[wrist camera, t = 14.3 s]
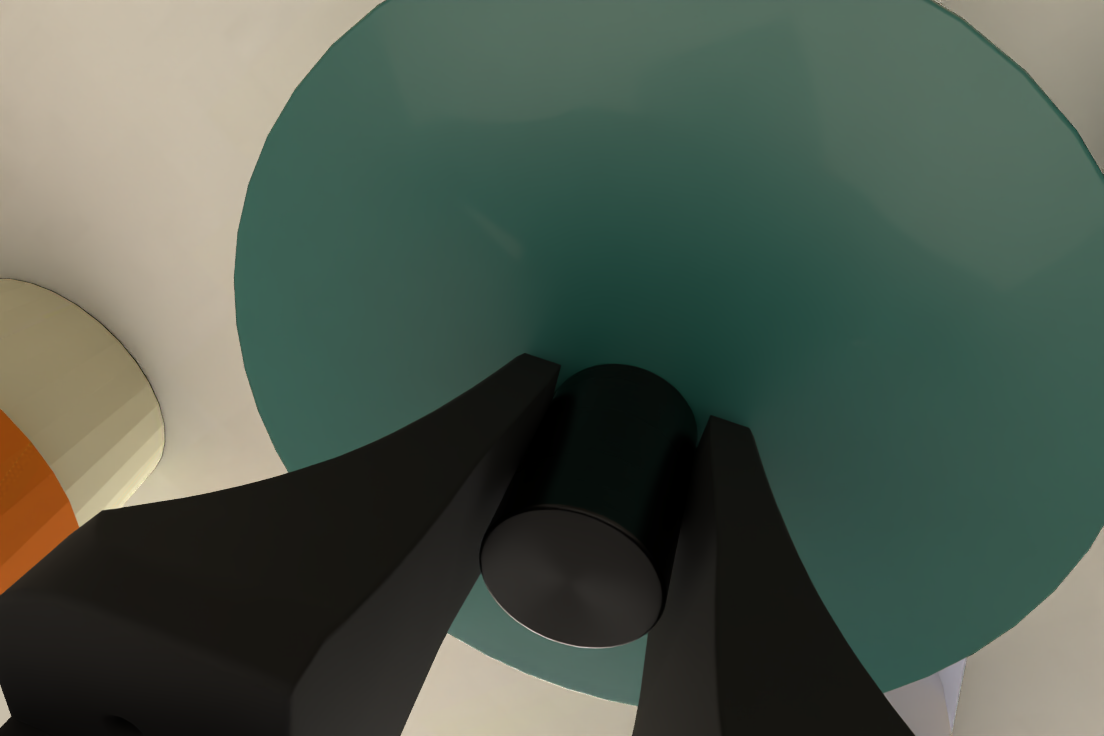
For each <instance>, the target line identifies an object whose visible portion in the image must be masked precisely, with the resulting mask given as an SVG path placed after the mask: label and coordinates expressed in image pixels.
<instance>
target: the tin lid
mask: <svg viewBox="0 0 1104 736" xmlns="http://www.w3.org/2000/svg"><path fill="white" fill-rule="evenodd" d="M234 290H235V307H236V324H237V330H238V335H239V341H240V346H241V351H242V356H243V362H244V367H245V371H246V374H247V377H248V380H249V384H250V387H251V390H252V393H253V396H254V399H255V403H256V406H257V409H258V412H259V414H260V416H261V418H262V421H263V423H264V425H265V427H266V430H267V432H268V434H269V436H270V439H271V441H272V443H273V445H274V448H275V450H276V452H277V453H278V455H279V457H280V459H281V460H282V462H283V464H284V466H285V467H286V469H287V471H288V472H292V471H296V470H299V469H302V468H305V467H308V466H311V465H314V464H317V463H320V462H323V461H326V460H329V459H332V458H335V457H338V456H341V455H343V454H346V453H348V452H350V451H353V450H355V449H358V448H360V447H362V446H365V445H367V444H369V443H372V442H374V441H376V440H378V439H380V438H383V437H385V436H387V435H389V434H391V433H393V432H395V431H397V430H399V429H401V428H403V427H405V426H407V425H408V424H410V423H412V422H414V421H416V420H418V419H420V418H422V417H423V416H425V415H427V414H429V413H431V412H433V411H435V410H436V409H438V408H440V407H441V406H443V405H445V404H446V403H448V402H450V401H451V400H453V399H455V398H456V397H458V396H459V395H461V394H463V393H464V392H466V391H467V390H469V389H471V388H472V387H474V386H475V385H477V384H478V383H480V382H481V381H483V380H484V379H486V378H487V377H489V376H490V375H492V374H493V373H495V372H496V371H497V370H499V369H500V368H502V367H503V366H504V365H506V364H507V363H509V362H510V361H511V360H513V359H514V358H515V357H517V356H519V355H521V354H523V353H527V354H530V355H533V356H536V357H539V358H542V359H545V360H548V361H551V362H554V363H557V364H560V365H561V368H560V372H559V376H558V380H557V384H556V387H555V391H554V395H553V399H552V402H551V404H550V406H549V408H548V410H547V412H546V414H545V416H544V418H543V420H542V422H541V424H540V426H539V428H538V430H537V432H536V434H535V436H534V438H533V440H532V442H531V443H530V445H529V447H528V449H527V451H526V453H525V455H524V457H523V459H522V461H521V463H520V465H519V467H518V469H517V471H516V473H515V475H514V477H513V478H512V480H511V482H510V484H509V486H508V488H507V490H506V492H505V494H504V496H503V498H502V500H501V502H500V504H499V506H498V508H497V510H496V512H495V514H494V516H493V518H492V520H491V522H490V524H489V526H488V528H487V530H486V532H485V534H484V536H483V539H482V541H481V545H480V550H479V564H480V571H481V574H480V575H479V577H478V579H477V581H476V582H475V584H474V586H473V588H472V589H471V591H470V593H469V595H468V596H467V598H466V600H465V602H464V603H463V605H462V607H461V609H460V610H459V612H458V614H457V616H456V617H455V619H454V621H453V622H452V624H451V626H450V628H449V630H448V632H447V633H448V634H450V635H451V636H453V637H455V638H457V639H458V640H460V641H462V642H464V643H465V644H467V645H469V646H471V647H473V648H474V649H476V650H478V651H480V652H481V653H483V654H485V655H487V656H489V657H491V658H493V659H495V660H498V661H500V662H502V663H504V664H506V665H508V666H510V667H513V668H515V669H517V670H519V671H521V672H523V673H526V674H528V675H531V676H534V677H536V678H539V679H542V680H544V681H547V682H550V683H552V684H555V685H558V686H561V687H563V688H566V689H569V690H573V691H576V692H580V693H583V694H587V695H591V696H594V697H598V698H601V699H605V700H608V701H613V702H618V703H623V704H628V705H633V706H638V703H639V697H640V691H641V683H642V675H643V668H644V660H645V652H646V645H647V637H648V632H649V631H650V630H651V629H652V628H653V627H654V626H655V625H656V624H657V622H658V621H659V619H660V618H661V616H662V614H663V612H664V609H665V606H666V601H667V596H668V591H669V585H670V580H671V575H672V570H673V564H674V559H675V554H676V549H677V544H678V538H679V533H680V528H681V523H682V518H683V512H684V507H685V502H686V497H687V491H688V486H689V481H690V476H691V471H692V465H693V460H694V455H695V451H696V449H697V446H698V444H699V442H700V439H701V437H702V434H703V432H704V429H705V427H706V425H707V422H708V420H709V417H710V415H713V416H716V417H719V418H722V419H725V420H728V421H730V422H733V423H736V424H739V425H742V426H745V427H748V428H750V430H751V432H752V434H753V436H754V439H755V442H756V445H757V449H758V452H759V455H760V458H761V461H762V464H763V467H764V470H765V473H766V476H767V479H768V482H769V484H770V487H771V490H772V493H773V495H774V498H775V500H776V503H777V506H778V508H779V510H780V513H781V515H782V518H783V520H784V522H785V525H786V527H787V530H788V532H789V535H790V537H791V539H792V541H793V543H794V546H795V548H796V550H797V552H798V554H799V557H800V559H801V561H802V563H803V565H804V567H805V569H806V571H807V573H808V575H809V577H810V579H811V581H812V583H813V585H814V587H815V588H816V590H817V592H818V594H819V596H820V598H821V600H822V601H823V603H824V605H825V607H826V608H827V610H828V612H829V613H830V615H831V616H832V618H833V620H834V621H835V623H836V625H837V626H838V628H839V630H840V631H841V633H842V635H843V636H844V638H845V639H846V641H847V643H848V644H849V646H850V647H851V649H852V650H853V652H854V653H855V655H856V656H857V658H858V659H859V661H860V662H861V664H862V665H863V666H864V668H865V669H866V670H867V672H868V673H869V675H870V676H871V677H872V679H873V680H874V682H875V683H876V684H877V686H878V687H879V688H880V690H881V691H882V693H886V692H889V691H892V690H894V689H897V688H900V687H902V686H905V685H908V684H910V683H913V682H916V681H918V680H921V679H924V678H926V677H929V676H931V675H933V674H935V673H937V672H939V671H941V670H943V669H945V668H947V667H949V666H951V665H953V664H955V663H957V662H959V661H961V660H963V659H964V658H966V657H968V656H970V655H972V654H974V653H976V652H977V651H978V650H980V649H981V648H983V647H984V646H986V645H987V644H989V643H990V642H992V641H993V640H995V639H996V638H998V637H999V636H1001V635H1002V634H1004V633H1005V632H1007V631H1008V630H1010V629H1011V628H1013V627H1014V626H1016V625H1017V624H1018V623H1019V622H1020V621H1021V620H1022V619H1023V618H1025V617H1026V616H1027V615H1028V614H1029V613H1030V612H1031V611H1032V610H1034V609H1035V608H1036V607H1037V606H1038V605H1039V604H1040V603H1041V602H1043V601H1044V600H1045V599H1046V598H1047V597H1048V596H1049V595H1050V594H1052V593H1053V592H1054V591H1055V590H1056V589H1057V587H1058V586H1059V585H1060V584H1061V583H1062V581H1063V580H1064V579H1065V578H1066V577H1067V575H1068V574H1069V573H1070V572H1071V571H1072V570H1073V568H1074V567H1075V566H1076V565H1077V564H1078V562H1079V561H1080V560H1081V559H1082V558H1083V556H1084V555H1085V554H1086V553H1087V552H1088V550H1089V549H1090V547H1091V546H1092V544H1093V542H1094V541H1095V539H1096V537H1097V536H1098V534H1099V532H1100V531H1101V529H1102V527H1103V526H1104V175H1103V174H1102V172H1101V170H1100V169H1099V167H1098V165H1097V164H1096V162H1095V160H1094V158H1093V157H1092V155H1091V153H1090V152H1089V150H1088V148H1087V147H1086V145H1085V143H1084V142H1083V140H1082V138H1081V137H1080V135H1079V133H1078V132H1077V130H1076V129H1075V128H1074V127H1073V125H1072V124H1071V123H1070V122H1069V121H1068V120H1067V118H1066V117H1065V116H1064V115H1063V114H1062V113H1061V111H1060V110H1059V109H1058V108H1057V107H1056V106H1055V104H1054V103H1053V102H1052V101H1051V100H1050V99H1049V97H1048V96H1047V95H1046V94H1045V93H1044V92H1043V90H1042V89H1041V88H1040V87H1039V86H1038V85H1037V83H1036V82H1035V81H1034V80H1033V79H1032V78H1031V76H1030V75H1029V74H1028V73H1027V72H1026V71H1025V70H1024V69H1023V68H1022V67H1021V66H1019V65H1018V64H1017V63H1016V62H1015V61H1013V60H1012V59H1011V58H1010V57H1009V56H1007V55H1006V54H1005V53H1004V52H1003V51H1001V50H1000V49H999V48H998V47H997V46H995V45H994V44H993V43H992V42H991V41H989V40H988V39H987V38H986V37H985V36H983V35H982V34H981V33H980V32H979V31H977V30H976V29H975V28H974V27H973V26H971V25H970V24H969V23H968V22H967V21H965V20H964V19H963V18H962V17H960V16H958V15H957V14H955V13H954V12H952V11H950V10H948V9H947V8H945V7H943V6H942V5H940V4H938V3H937V2H935V1H933V0H385V1H383V2H382V3H380V4H379V5H377V6H376V7H375V8H374V9H373V10H371V11H370V12H369V13H368V14H367V15H366V16H365V17H363V18H362V19H361V20H360V21H359V22H358V23H356V24H355V25H354V26H353V27H352V28H351V29H350V30H348V31H347V32H346V33H345V34H344V35H343V36H342V37H340V38H339V39H338V40H337V41H336V42H335V43H333V44H332V45H331V46H330V48H329V49H328V50H327V51H326V53H325V54H324V55H323V56H322V57H321V59H320V60H319V61H318V62H317V63H316V65H315V66H314V67H313V68H312V69H311V71H310V72H309V73H308V74H307V75H306V77H305V78H304V79H303V80H302V81H301V83H300V84H299V85H298V86H297V87H296V89H295V90H294V92H293V94H292V95H291V97H290V99H289V100H288V102H287V104H286V105H285V107H284V109H283V111H282V112H281V114H280V116H279V117H278V119H277V121H276V122H275V124H274V126H273V127H272V129H271V131H270V133H269V134H268V136H267V139H266V141H265V144H264V146H263V149H262V151H261V154H260V156H259V159H258V161H257V164H256V166H255V169H254V172H253V174H252V177H251V179H250V182H249V184H248V188H247V193H246V197H245V202H244V206H243V210H242V215H241V219H240V224H239V228H238V233H237V246H236V259H235V271H234Z"/></svg>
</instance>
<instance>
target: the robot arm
mask: <svg viewBox="0 0 1104 736" xmlns="http://www.w3.org/2000/svg"><path fill="white" fill-rule="evenodd" d="M560 368H561V365H560V364H557V363H554V362H551V361H548V360H545V359H542V358H539V357H536V356H533V355H530V354H527V353H523V354H521V355H519V356H517V357H515V358H514V359H513V360H511V361H510V362H509V363H507V364H506V365H504V366H503V367H502V368H500V369H499V370H497V371H496V372H495V373H493V374H492V375H490V376H489V377H487V378H486V379H484V380H483V381H481V382H480V383H478V384H477V385H475V386H474V387H472V388H471V389H469V390H467V391H466V392H464V393H463V394H461V395H459V396H458V397H456V398H455V399H453V400H451V401H450V402H448V403H446V404H445V405H443V406H441V407H440V408H438V409H436V410H435V411H433V412H431V413H429V414H427V415H425V416H423V417H422V418H420V419H418V420H416V421H414V422H412V423H410V424H408V425H407V426H405V427H403V428H401V429H399V430H397V431H395V432H393V433H391V434H389V435H387V436H385V437H383V438H380V439H378V440H376V441H374V442H372V443H369V444H367V445H365V446H362V447H360V448H358V449H355V450H353V451H350V452H348V453H346V454H343V455H341V456H338V457H335V458H332V459H329V460H326V461H323V462H320V463H317V464H314V465H311V466H308V467H305V468H302V469H299V470H296V471H292V472H289V473H286V474H283V475H280V476H277V477H273V478H269V479H265V480H262V481H258V482H254V483H250V484H246V485H242V486H238V487H233V488H229V489H224V490H220V491H216V492H211V493H206V494H201V495H196V496H191V497H186V498H180V499H174V500H167V501H161V502H155V503H148V504H142V505H136V506H130V507H123V508H116V509H108V510H102V511H101V512H99V513H98V514H97V515H95V516H94V517H93V518H91V519H90V520H89V521H87V522H86V523H85V524H83V525H82V526H81V527H79V528H78V529H77V530H75V531H74V532H73V533H71V534H70V535H69V536H68V537H67V538H65V539H64V540H63V541H62V542H61V543H60V544H59V545H57V546H56V547H55V548H54V549H53V550H52V551H51V552H50V553H48V554H47V555H46V556H45V557H44V558H43V559H42V560H40V561H39V562H38V563H37V564H36V565H35V566H33V567H32V568H31V569H30V570H29V571H28V572H27V573H25V574H24V575H23V576H22V577H21V578H20V579H18V580H17V581H16V582H15V583H14V584H13V585H12V586H10V587H9V588H8V589H7V590H6V591H5V592H4V593H2V594H1V595H0V685H1V688H2V691H3V694H4V697H5V699H6V702H7V705H8V708H9V711H10V713H11V717H10V718H9V719H8V720H7V722H6V723H5V724H4V725H3V726H2V727H1V728H0V736H400V735H401V733H402V731H403V729H404V726H405V724H406V722H407V719H408V717H409V715H410V713H411V710H412V708H413V706H414V703H415V701H416V699H417V697H418V694H419V692H420V690H421V688H422V686H423V683H424V681H425V679H426V677H427V674H428V672H429V670H430V668H431V665H432V663H433V661H434V659H435V657H436V654H437V652H438V650H439V648H440V646H441V644H442V642H443V640H444V638H445V636H446V634H447V632H448V630H449V628H450V626H451V624H452V622H453V621H454V619H455V617H456V616H457V614H458V612H459V610H460V609H461V607H462V605H463V603H464V602H465V600H466V598H467V596H468V595H469V593H470V591H471V589H472V588H473V586H474V584H475V582H476V581H477V579H478V577H479V575H480V574H481V571H480V564H479V550H480V545H481V541H482V539H483V536H484V534H485V532H486V530H487V528H488V526H489V524H490V522H491V520H492V518H493V516H494V514H495V512H496V510H497V508H498V506H499V504H500V502H501V500H502V498H503V496H504V494H505V492H506V490H507V488H508V486H509V484H510V482H511V480H512V478H513V477H514V475H515V473H516V471H517V469H518V467H519V465H520V463H521V461H522V459H523V457H524V455H525V453H526V451H527V449H528V447H529V445H530V443H531V442H532V440H533V438H534V436H535V434H536V432H537V430H538V428H539V426H540V424H541V422H542V420H543V418H544V416H545V414H546V412H547V410H548V408H549V406H550V404H551V402H552V399H553V395H554V391H555V387H556V384H557V380H558V376H559V372H560ZM966 660H967V657H966V658H964V659H963V660H961V661H959V662H957V663H955V664H953V665H951V666H949V667H947V668H945V669H943V670H941V671H939V672H937V673H935V674H933V675H931V676H929V677H926V678H924V679H921V680H918V681H916V682H913V683H910V684H908V685H905V686H902V687H900V688H897V689H894V690H892V691H889V692H886V693H882V691H881V690H880V688H879V687H878V686H877V684H876V683H875V682H874V680H873V679H872V677H871V676H870V675H869V673H868V672H867V670H866V669H865V668H864V666H863V665H862V664H861V662H860V661H859V659H858V658H857V656H856V655H855V653H854V652H853V650H852V649H851V647H850V646H849V644H848V643H847V641H846V639H845V638H844V636H843V635H842V633H841V631H840V630H839V628H838V626H837V625H836V623H835V621H834V620H833V618H832V616H831V615H830V613H829V612H828V610H827V608H826V607H825V605H824V603H823V601H822V600H821V598H820V596H819V594H818V592H817V590H816V588H815V587H814V585H813V583H812V581H811V579H810V577H809V575H808V573H807V571H806V569H805V567H804V565H803V563H802V561H801V559H800V557H799V554H798V552H797V550H796V548H795V546H794V543H793V541H792V539H791V537H790V535H789V532H788V530H787V527H786V525H785V522H784V520H783V518H782V515H781V513H780V510H779V508H778V506H777V503H776V500H775V498H774V495H773V493H772V490H771V487H770V484H769V482H768V479H767V476H766V473H765V470H764V467H763V464H762V461H761V458H760V455H759V452H758V449H757V445H756V442H755V439H754V436H753V434H752V432H751V430H750V428H748V427H745V426H742V425H739V424H736V423H733V422H730V421H728V420H725V419H722V418H719V417H716V416H713V415H710V417H709V420H708V422H707V425H706V427H705V429H704V432H703V434H702V437H701V439H700V442H699V444H698V446H697V449H696V451H695V455H694V460H693V465H692V471H691V476H690V481H689V486H688V491H687V497H686V502H685V507H684V512H683V518H682V523H681V528H680V533H679V538H678V544H677V549H676V554H675V559H674V564H673V570H672V575H671V580H670V585H669V591H668V596H667V601H666V606H665V609H664V612H663V614H662V616H661V618H660V619H659V621H658V622H657V624H656V625H655V626H654V627H653V628H652V629H651V630H650V631H649V632H648V637H647V645H646V652H645V660H644V668H643V675H642V683H641V691H640V697H639V703H638V709H637V714H636V720H635V725H634V730H633V734H632V736H952V731H953V726H954V721H955V716H956V711H957V706H958V701H959V696H960V691H961V686H962V680H963V675H964V670H965V665H966Z"/></svg>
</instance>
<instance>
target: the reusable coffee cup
mask: <svg viewBox="0 0 1104 736" xmlns="http://www.w3.org/2000/svg"><path fill="white" fill-rule="evenodd" d="M164 443H165V437H164V423H163V419H162V415H161V411H160V407H159V404H158V402H157V399H156V397H155V395H154V393H153V391H152V388H151V386H150V384H149V382H148V381H147V379H146V377H145V376H144V374H143V373H142V371H141V369H140V368H139V366H138V365H137V363H136V362H135V360H134V359H133V358H132V357H131V356H130V354H129V353H128V352H127V351H126V349H125V348H124V347H123V346H122V345H121V343H120V342H119V341H118V340H117V339H116V338H115V337H114V336H113V335H112V334H111V333H110V332H109V331H108V330H107V329H106V328H104V327H103V326H102V325H101V324H100V323H99V322H98V321H97V320H95V319H94V318H93V317H91V316H90V315H89V314H87V313H86V312H85V311H84V310H82V309H81V308H80V307H78V306H77V305H75V304H73V303H72V302H70V301H68V300H66V299H65V298H63V297H61V296H59V295H58V294H56V293H54V292H52V291H49V290H47V289H44V288H42V287H39V286H37V285H34V284H32V283H27V282H22V281H18V280H13V279H0V595H1V594H2V593H4V592H5V591H6V590H7V589H8V588H9V587H10V586H12V585H13V584H14V583H15V582H16V581H17V580H18V579H20V578H21V577H22V576H23V575H24V574H25V573H27V572H28V571H29V570H30V569H31V568H32V567H33V566H35V565H36V564H37V563H38V562H39V561H40V560H42V559H43V558H44V557H45V556H46V555H47V554H48V553H50V552H51V551H52V550H53V549H54V548H55V547H56V546H57V545H59V544H60V543H61V542H62V541H63V540H64V539H65V538H67V537H68V536H69V535H70V534H71V533H73V532H74V531H75V530H77V529H78V528H79V527H81V526H82V525H83V524H85V523H86V522H87V521H89V520H90V519H91V518H93V517H94V516H95V515H97V514H98V513H99V512H101V511H102V510H108V509H116V508H121V507H122V506H123V505H124V504H125V502H126V501H127V500H128V499H129V498H130V497H131V495H132V494H133V493H134V492H135V491H136V490H137V489H138V487H139V486H140V485H141V484H142V483H143V482H144V480H145V479H146V478H147V477H148V476H149V475H150V474H151V472H152V471H153V470H154V469H155V467H156V466H157V464H158V462H159V460H160V459H161V457H162V452H163V447H164Z"/></svg>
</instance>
